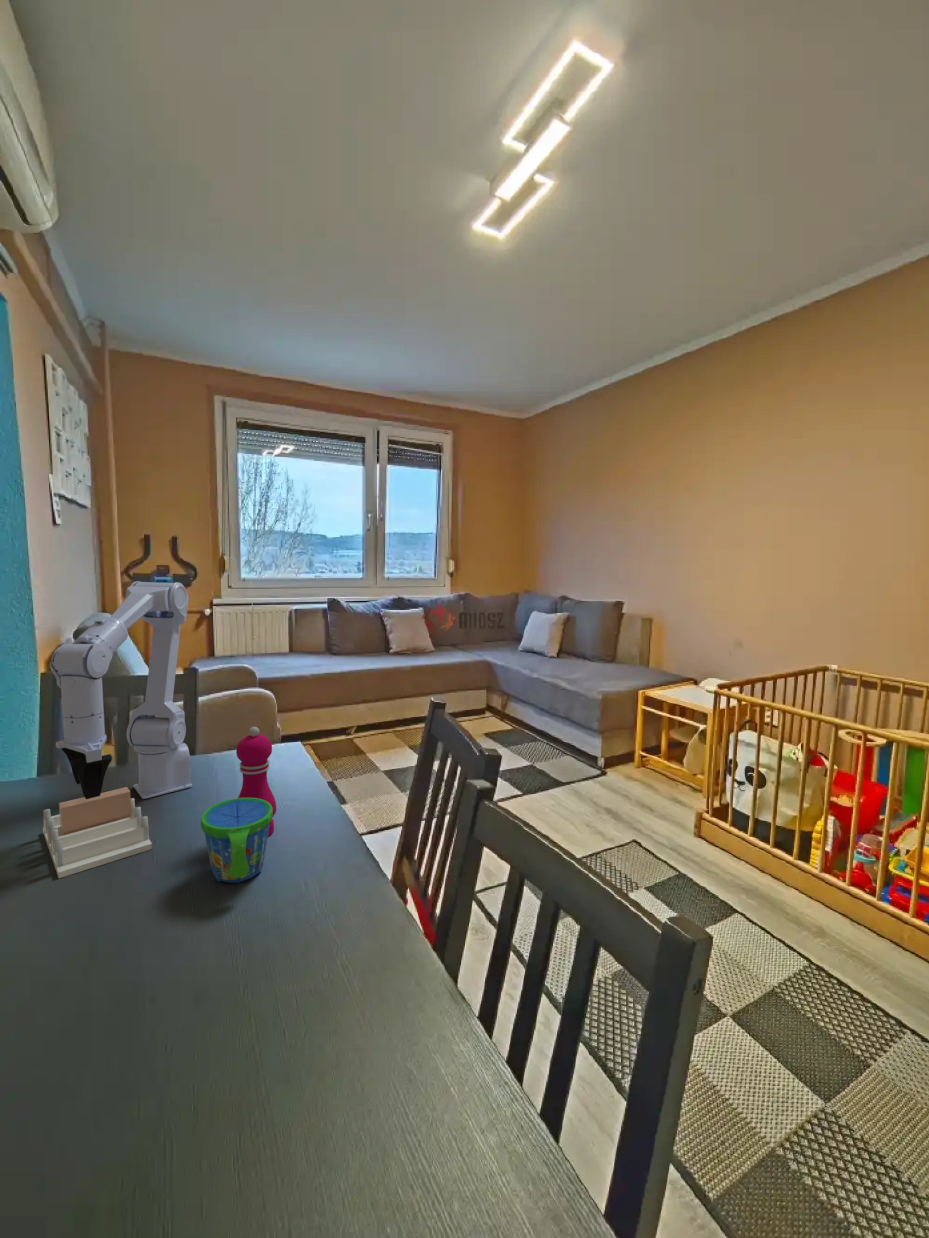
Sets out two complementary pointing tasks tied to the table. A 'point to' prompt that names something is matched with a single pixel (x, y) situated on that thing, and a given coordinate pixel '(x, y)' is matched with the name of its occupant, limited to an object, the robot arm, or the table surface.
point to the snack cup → (237, 837)
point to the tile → (94, 810)
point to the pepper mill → (256, 768)
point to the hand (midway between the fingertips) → (88, 789)
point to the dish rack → (95, 842)
